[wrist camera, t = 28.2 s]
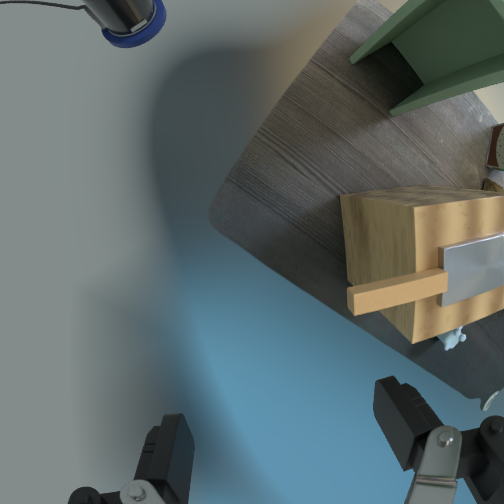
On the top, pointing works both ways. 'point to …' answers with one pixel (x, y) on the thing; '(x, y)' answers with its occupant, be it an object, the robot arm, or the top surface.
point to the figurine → (451, 338)
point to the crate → (419, 247)
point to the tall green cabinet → (444, 46)
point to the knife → (438, 278)
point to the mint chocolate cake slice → (496, 148)
